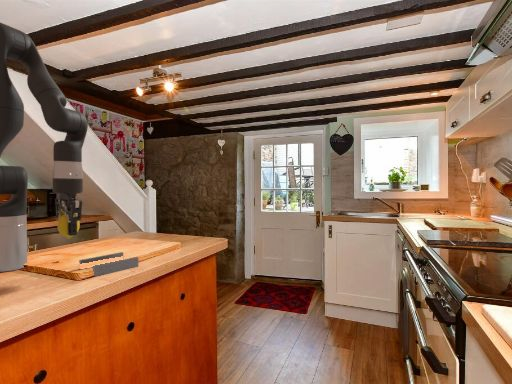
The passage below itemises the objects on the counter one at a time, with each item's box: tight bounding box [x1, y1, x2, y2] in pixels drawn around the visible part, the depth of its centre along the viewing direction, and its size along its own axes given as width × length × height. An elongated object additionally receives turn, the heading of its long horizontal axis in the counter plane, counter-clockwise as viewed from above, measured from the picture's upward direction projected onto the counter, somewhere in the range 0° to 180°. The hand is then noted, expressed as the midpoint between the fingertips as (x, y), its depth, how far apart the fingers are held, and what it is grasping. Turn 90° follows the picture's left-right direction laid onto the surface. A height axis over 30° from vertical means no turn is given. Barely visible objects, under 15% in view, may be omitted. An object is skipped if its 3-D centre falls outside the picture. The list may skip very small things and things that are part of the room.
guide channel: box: [78, 251, 139, 277], centre depth 96 cm, size 11×14×3 cm
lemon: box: [57, 215, 80, 240], centre depth 87 cm, size 6×6×8 cm
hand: (68, 233), depth 87 cm, fingers closed on lemon, 5 cm apart
